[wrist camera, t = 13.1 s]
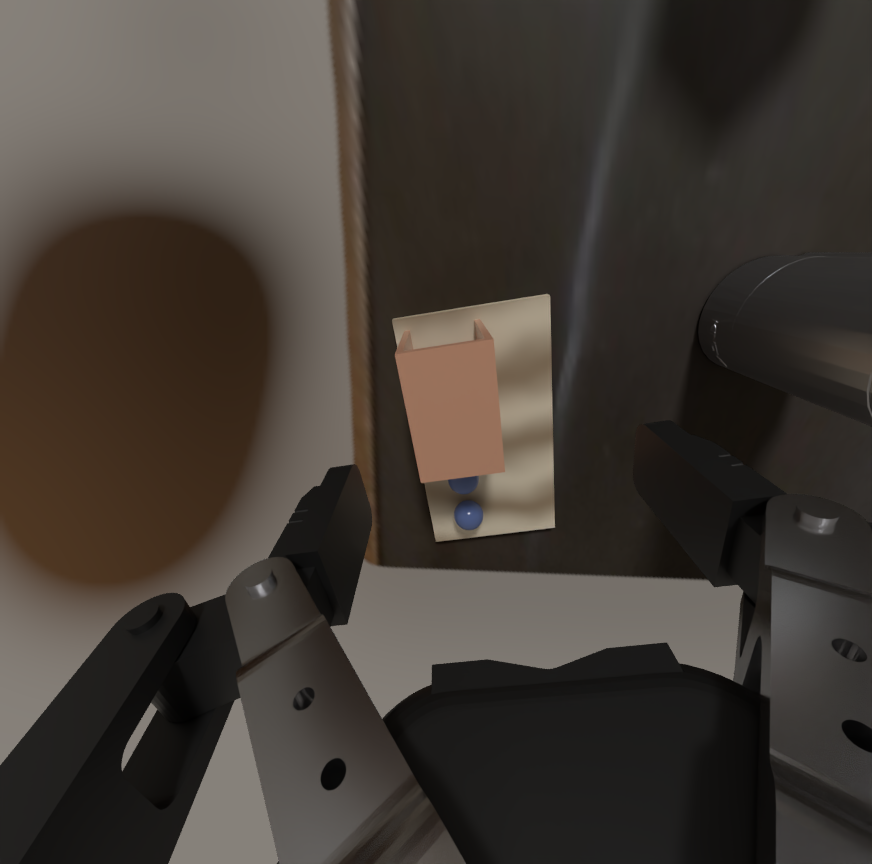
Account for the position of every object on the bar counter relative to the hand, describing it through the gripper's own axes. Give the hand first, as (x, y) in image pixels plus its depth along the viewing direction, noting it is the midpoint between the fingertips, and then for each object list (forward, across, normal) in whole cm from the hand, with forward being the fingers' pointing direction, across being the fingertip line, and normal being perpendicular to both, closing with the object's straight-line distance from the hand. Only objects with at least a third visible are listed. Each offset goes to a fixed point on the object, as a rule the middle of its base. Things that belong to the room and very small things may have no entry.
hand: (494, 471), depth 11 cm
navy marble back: (+21, +2, +18) cm, 28 cm away
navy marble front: (+21, +2, +14) cm, 25 cm away
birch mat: (+24, -1, +11) cm, 26 cm away
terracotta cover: (+23, +2, +5) cm, 23 cm away
